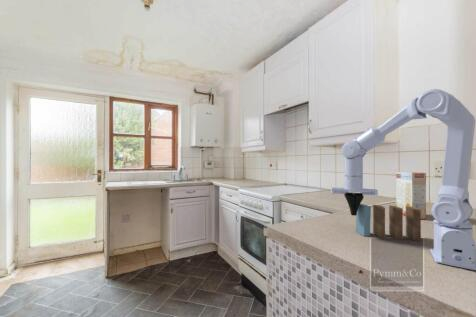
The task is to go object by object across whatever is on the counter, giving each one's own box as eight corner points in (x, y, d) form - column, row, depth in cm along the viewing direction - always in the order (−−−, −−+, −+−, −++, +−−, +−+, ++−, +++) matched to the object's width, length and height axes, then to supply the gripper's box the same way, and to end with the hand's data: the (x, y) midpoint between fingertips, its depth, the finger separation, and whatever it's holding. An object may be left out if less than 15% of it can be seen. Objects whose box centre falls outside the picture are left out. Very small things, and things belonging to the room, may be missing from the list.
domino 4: (412, 236, 74) (412, 206, 74) (420, 241, 69) (420, 209, 70) (405, 235, 75) (405, 206, 75) (413, 240, 70) (413, 209, 70)
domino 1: (364, 236, 73) (364, 206, 74) (355, 231, 78) (356, 203, 79) (369, 236, 73) (370, 206, 74) (361, 231, 78) (362, 203, 79)
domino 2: (379, 233, 77) (379, 204, 77) (385, 238, 72) (385, 207, 72) (373, 232, 77) (373, 204, 77) (378, 237, 72) (378, 207, 73)
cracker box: (427, 219, 97) (426, 172, 97) (411, 219, 98) (411, 172, 98) (409, 212, 110) (409, 171, 111) (395, 212, 112) (395, 171, 112)
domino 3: (395, 234, 75) (395, 205, 76) (402, 239, 71) (402, 208, 71) (389, 234, 76) (389, 205, 76) (395, 238, 71) (395, 208, 71)
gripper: (372, 176, 79) (372, 213, 79) (329, 175, 83) (329, 211, 82) (380, 177, 72) (380, 218, 72) (332, 176, 76) (332, 215, 76)
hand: (353, 214), depth 77 cm, fingers closed
